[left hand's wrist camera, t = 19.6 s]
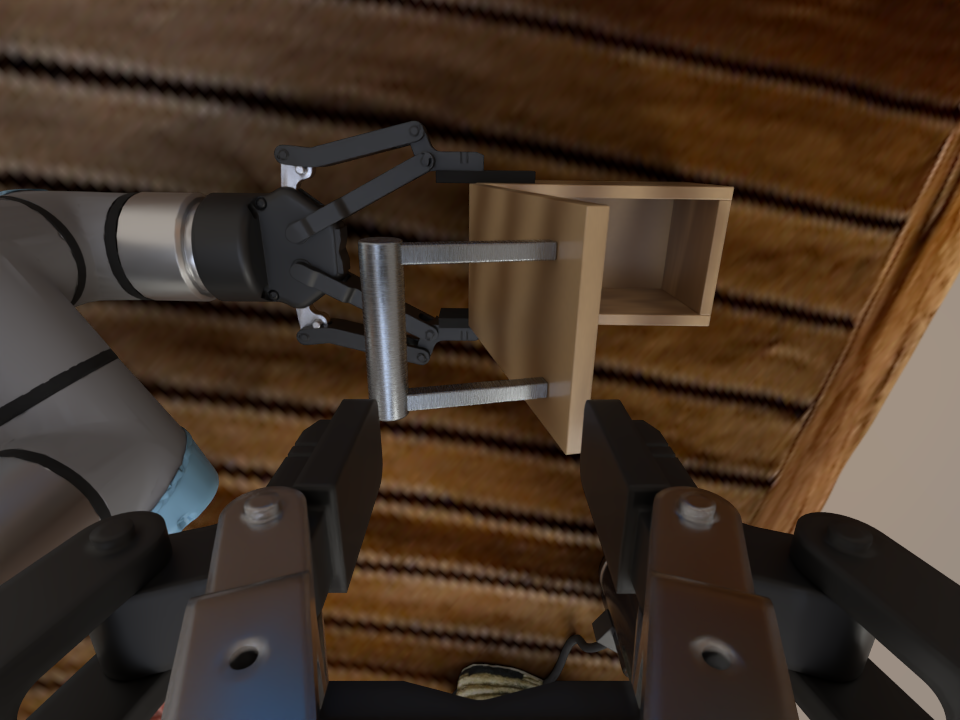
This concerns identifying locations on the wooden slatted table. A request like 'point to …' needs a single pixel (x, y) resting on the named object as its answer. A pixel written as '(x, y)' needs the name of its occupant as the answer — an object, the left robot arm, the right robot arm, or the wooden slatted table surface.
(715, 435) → the wooden slatted table surface
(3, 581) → the right robot arm
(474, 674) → the fossil
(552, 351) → the lid
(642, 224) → the chest
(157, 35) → the wooden slatted table surface
